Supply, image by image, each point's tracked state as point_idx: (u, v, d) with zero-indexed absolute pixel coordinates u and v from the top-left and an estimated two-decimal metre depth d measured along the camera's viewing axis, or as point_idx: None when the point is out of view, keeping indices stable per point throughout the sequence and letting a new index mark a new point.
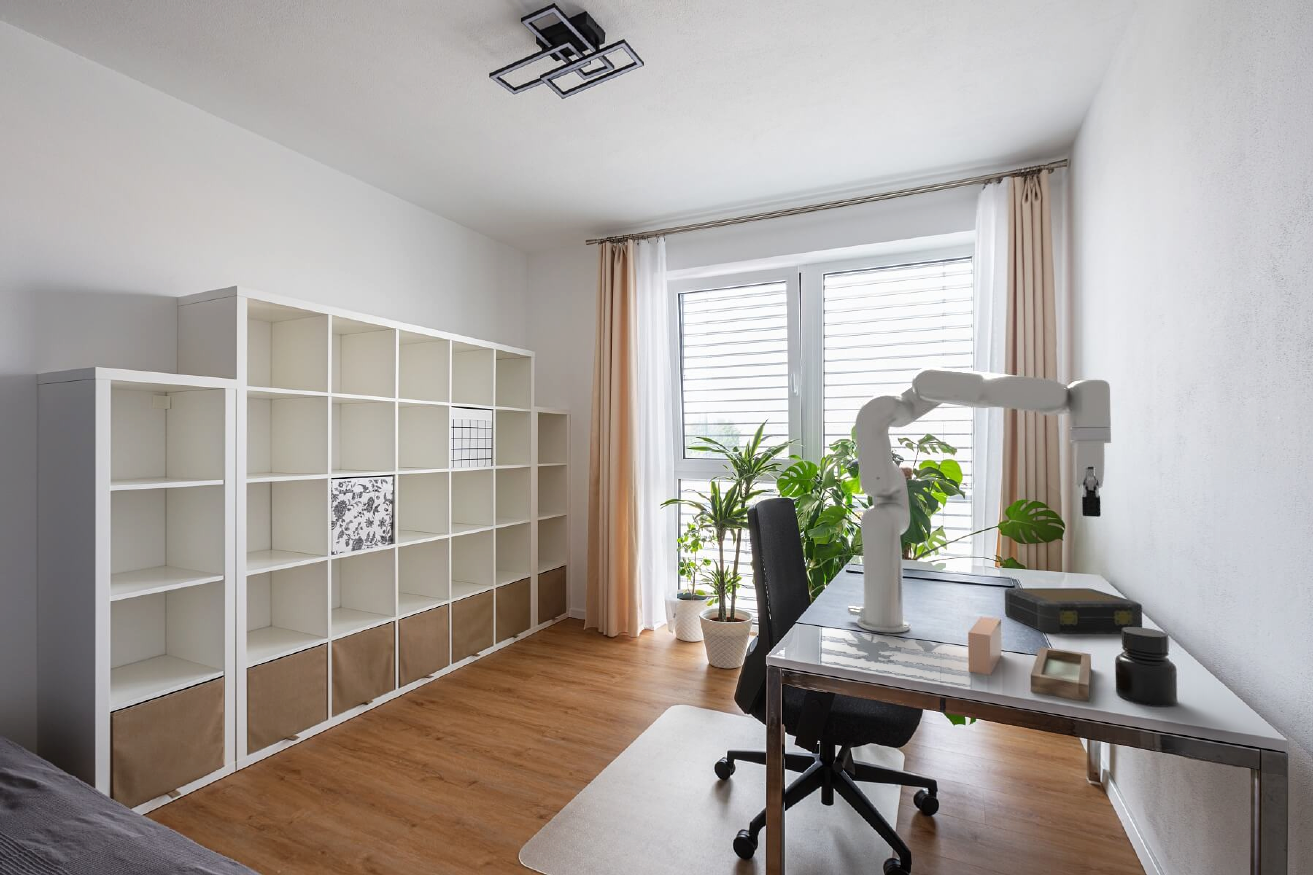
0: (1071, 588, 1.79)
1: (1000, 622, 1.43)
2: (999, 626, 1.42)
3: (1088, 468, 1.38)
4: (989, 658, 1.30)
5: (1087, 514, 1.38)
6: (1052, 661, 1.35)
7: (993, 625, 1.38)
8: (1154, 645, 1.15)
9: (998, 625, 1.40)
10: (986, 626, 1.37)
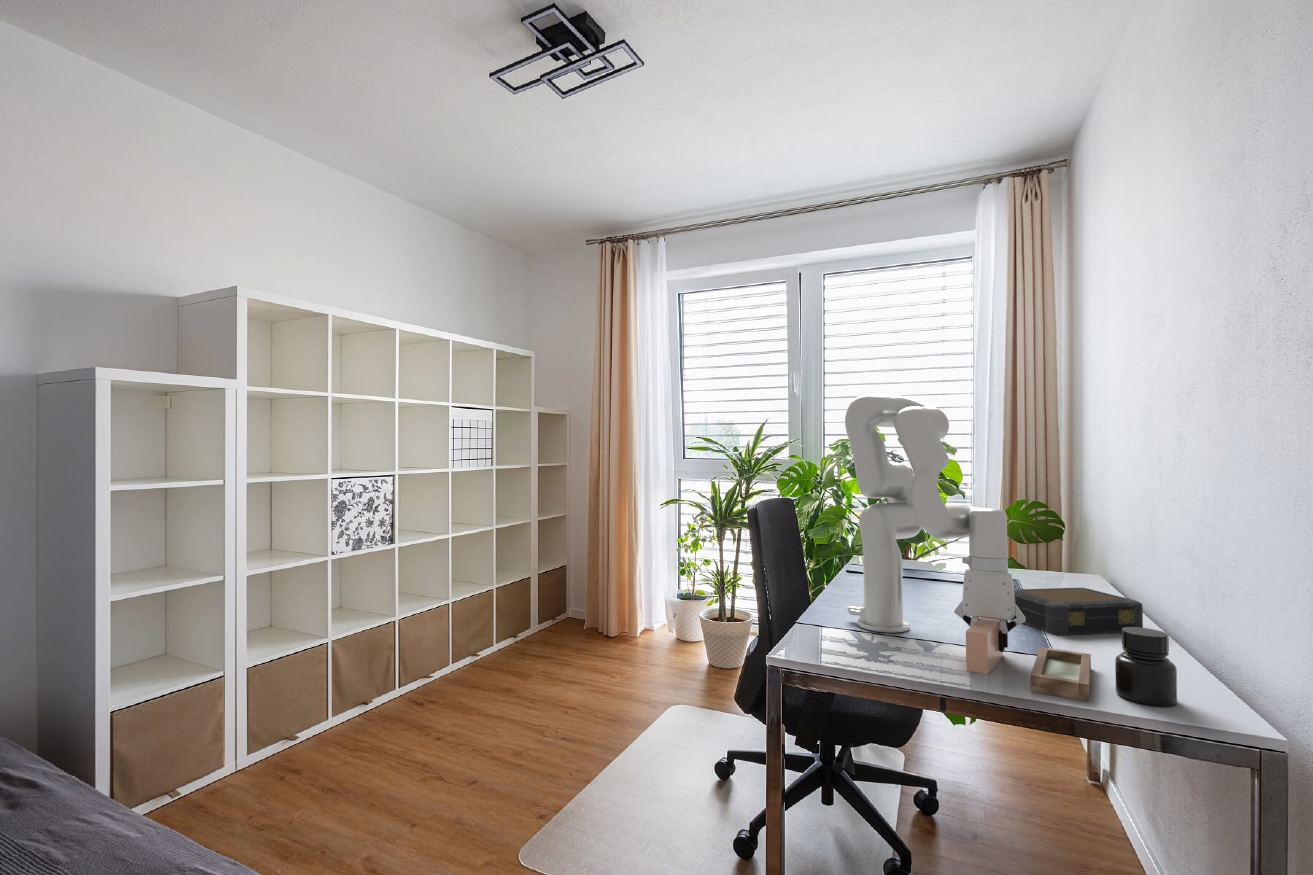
0: (1066, 588, 1.80)
1: None
2: None
3: None
4: (986, 657, 1.31)
5: (1003, 649, 1.40)
6: (1052, 661, 1.35)
7: (993, 624, 1.38)
8: (1154, 645, 1.15)
9: (998, 624, 1.40)
10: (985, 625, 1.37)
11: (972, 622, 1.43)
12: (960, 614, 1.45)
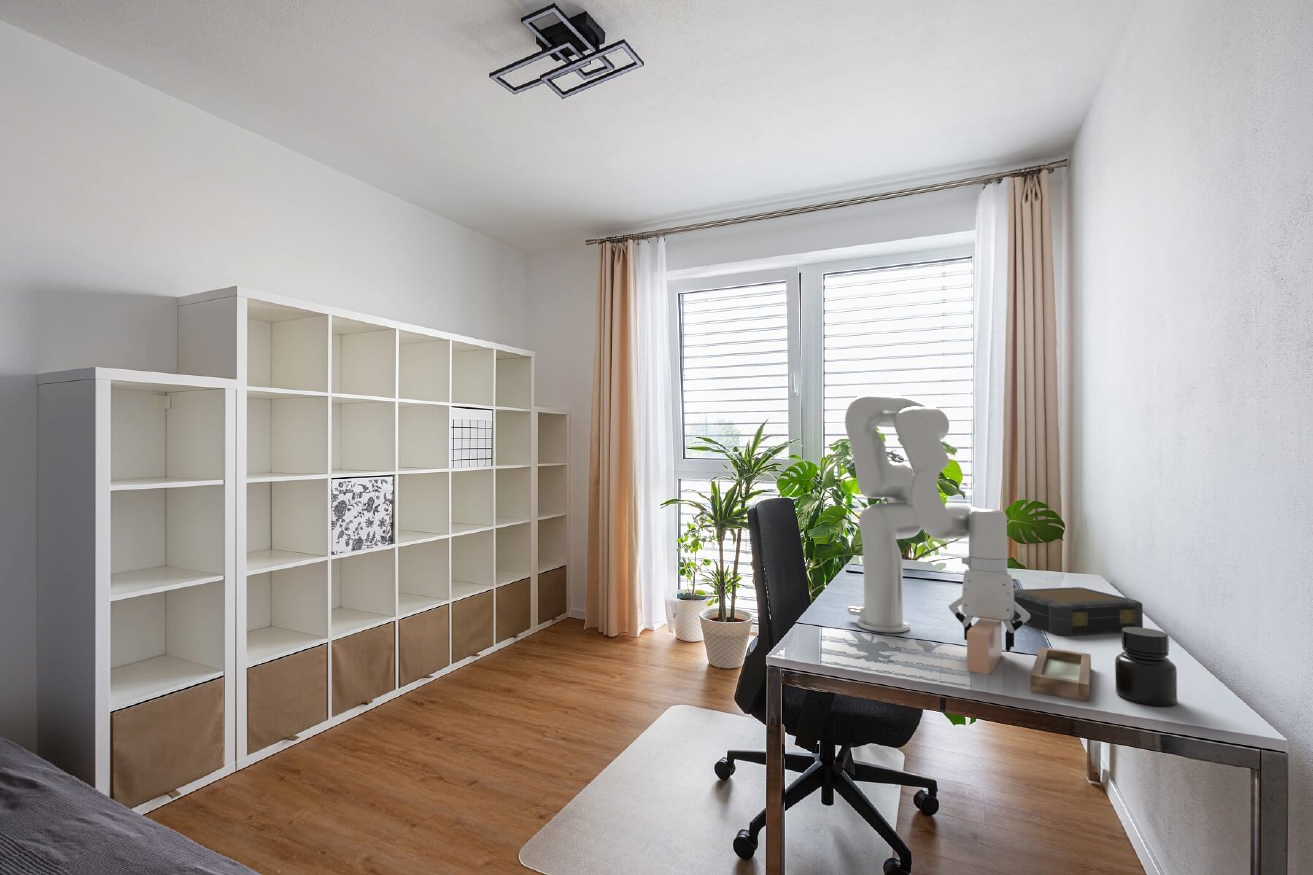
0: (1064, 588, 1.80)
1: (1001, 622, 1.43)
2: (1000, 626, 1.42)
3: (1013, 601, 1.39)
4: (988, 658, 1.31)
5: (1009, 649, 1.39)
6: (1052, 661, 1.35)
7: (993, 625, 1.38)
8: (1154, 645, 1.15)
9: (998, 625, 1.40)
10: (986, 626, 1.37)
11: (966, 619, 1.44)
12: (954, 610, 1.46)
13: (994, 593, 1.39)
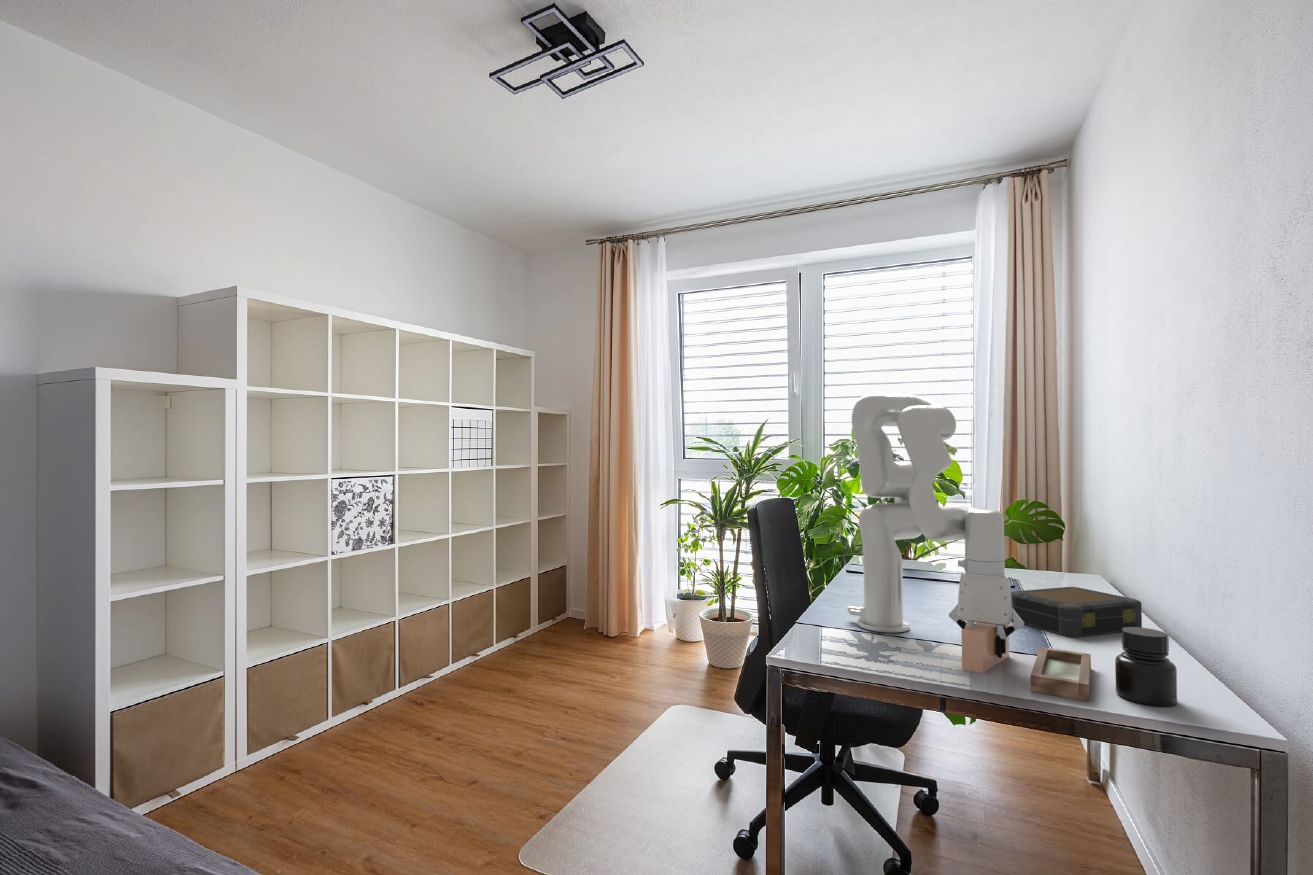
0: None
1: None
2: None
3: None
4: (981, 656, 1.31)
5: (1001, 655, 1.36)
6: (1052, 661, 1.35)
7: (994, 625, 1.38)
8: (1154, 645, 1.15)
9: None
10: (986, 625, 1.37)
11: None
12: (955, 618, 1.41)
13: (991, 597, 1.35)
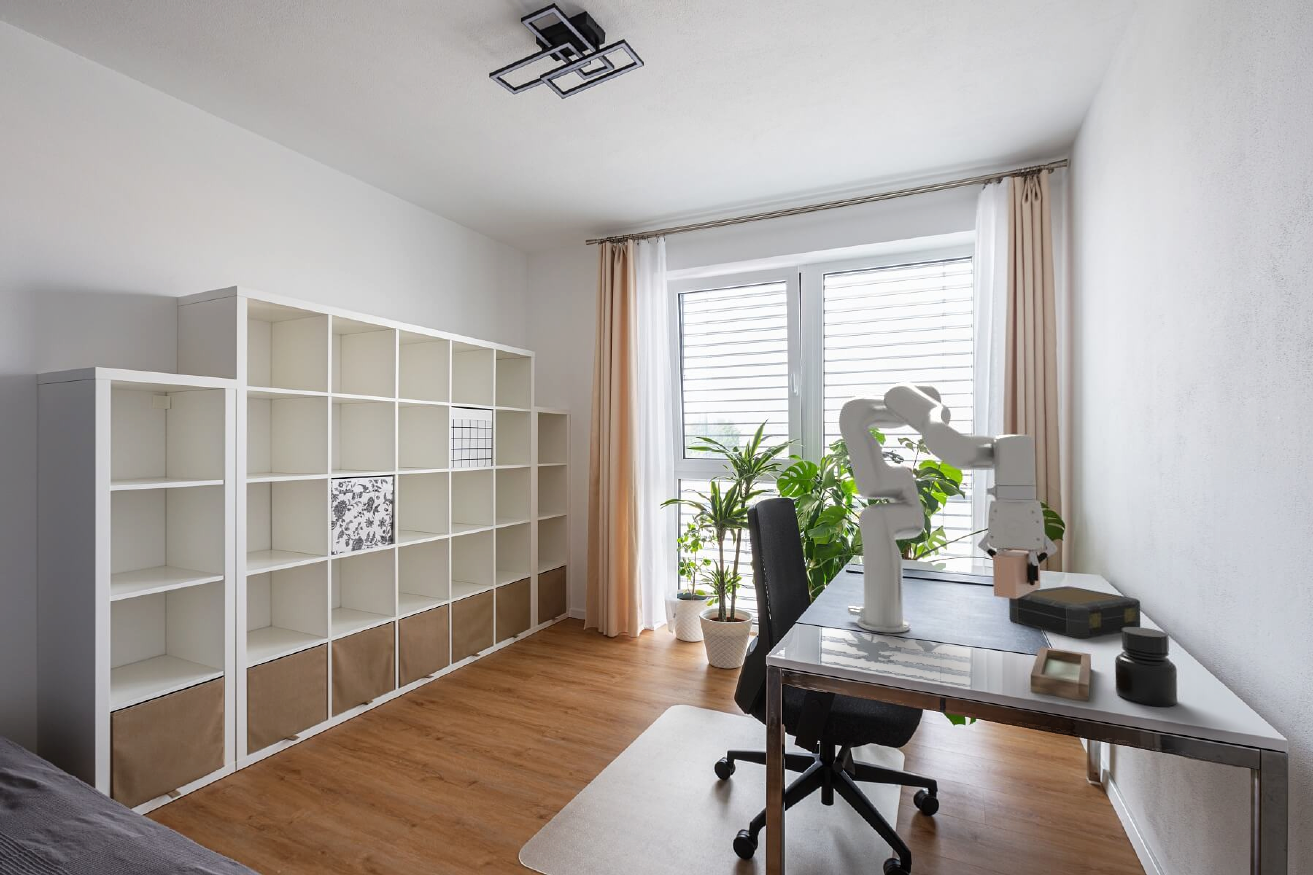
0: (1056, 587, 1.80)
1: (1038, 553, 1.38)
2: None
3: None
4: (1014, 581, 1.27)
5: (1033, 583, 1.31)
6: (1052, 661, 1.35)
7: (1026, 552, 1.34)
8: (1154, 645, 1.15)
9: None
10: (1017, 553, 1.33)
11: None
12: (985, 547, 1.37)
13: (1023, 522, 1.31)
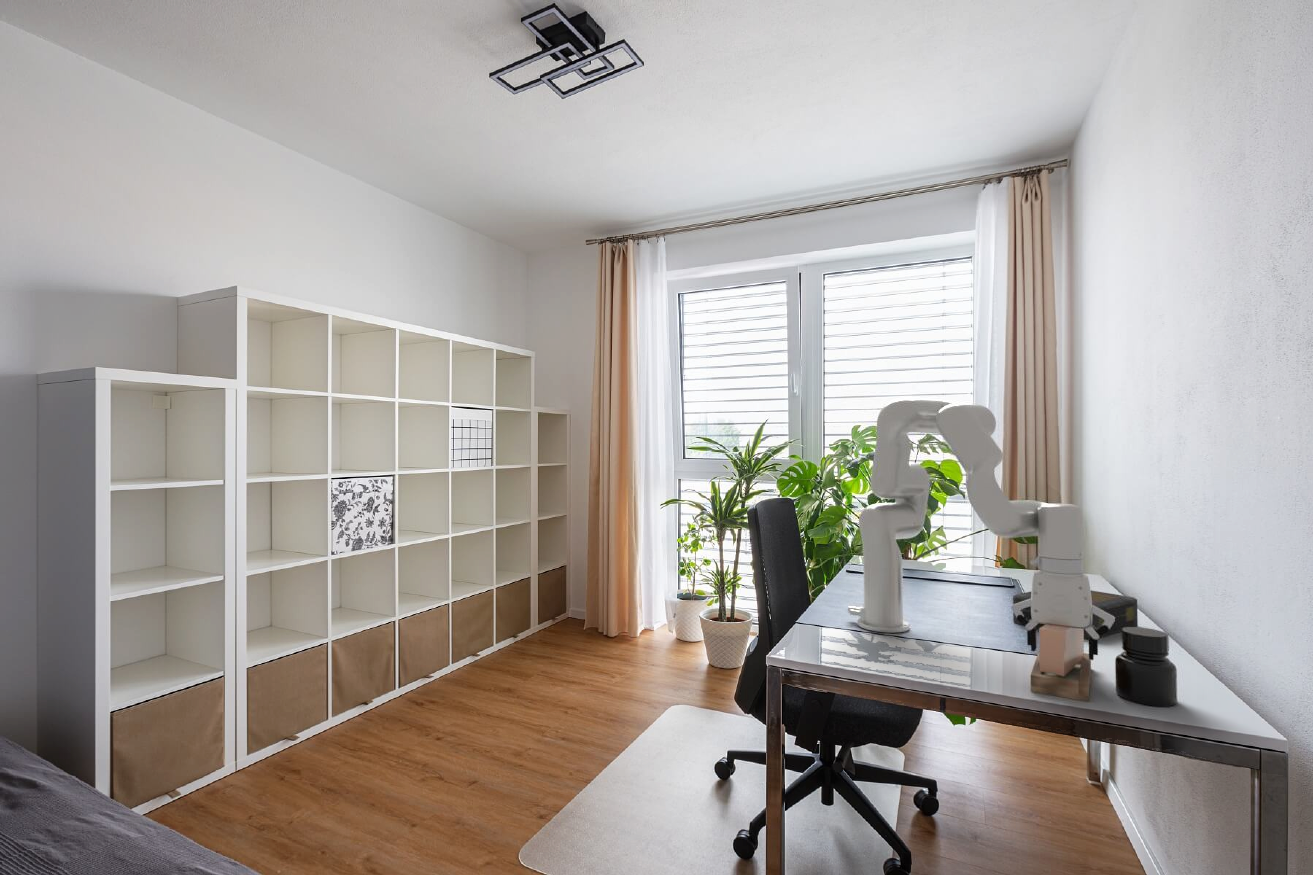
0: None
1: None
2: None
3: (1092, 605, 1.25)
4: (1062, 657, 1.21)
5: (1093, 657, 1.24)
6: None
7: None
8: (1154, 645, 1.15)
9: None
10: None
11: (1030, 623, 1.30)
12: (1017, 612, 1.32)
13: (1069, 598, 1.25)
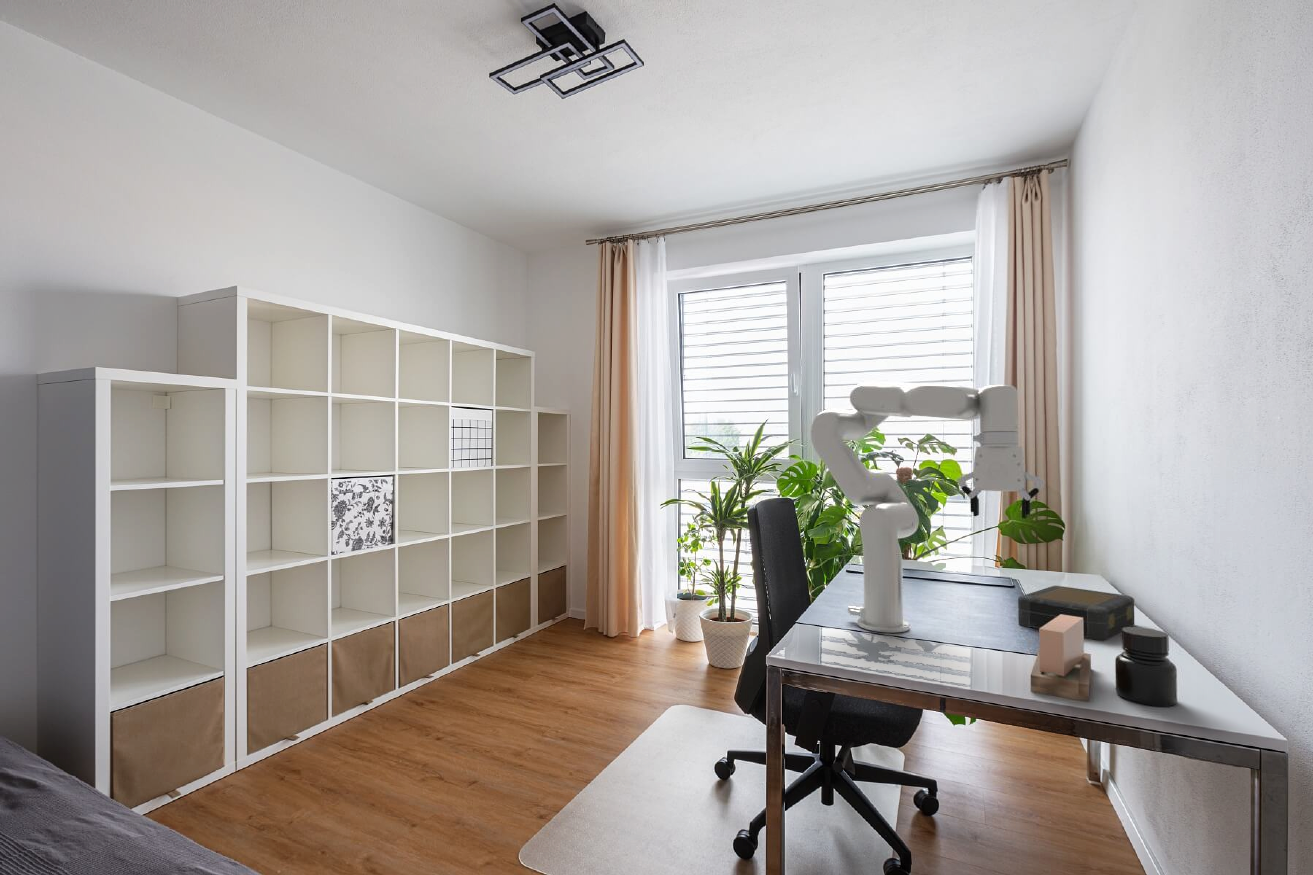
0: (1048, 587, 1.80)
1: (1082, 621, 1.32)
2: (1080, 625, 1.30)
3: None
4: (1062, 657, 1.21)
5: (1025, 516, 1.42)
6: None
7: (1071, 623, 1.27)
8: (1154, 645, 1.15)
9: (1078, 624, 1.29)
10: (1063, 624, 1.27)
11: (973, 492, 1.47)
12: (962, 483, 1.49)
13: (1005, 465, 1.42)
